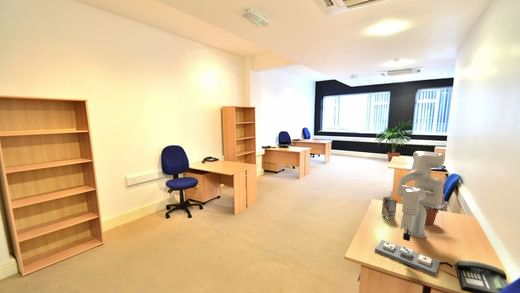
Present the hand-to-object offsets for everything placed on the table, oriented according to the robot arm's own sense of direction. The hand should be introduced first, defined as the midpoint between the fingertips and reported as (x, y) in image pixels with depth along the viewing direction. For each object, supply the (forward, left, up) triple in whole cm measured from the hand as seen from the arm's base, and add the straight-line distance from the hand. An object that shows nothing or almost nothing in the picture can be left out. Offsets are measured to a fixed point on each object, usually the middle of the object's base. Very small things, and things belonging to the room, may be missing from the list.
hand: (406, 239), depth 131 cm
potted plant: (-65, 0, -11) cm, 66 cm away
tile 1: (0, +10, -11) cm, 15 cm away
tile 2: (0, -8, -11) cm, 14 cm away
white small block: (0, +1, -10) cm, 10 cm away
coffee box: (-53, -23, -11) cm, 59 cm away
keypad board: (0, +1, -11) cm, 11 cm away
